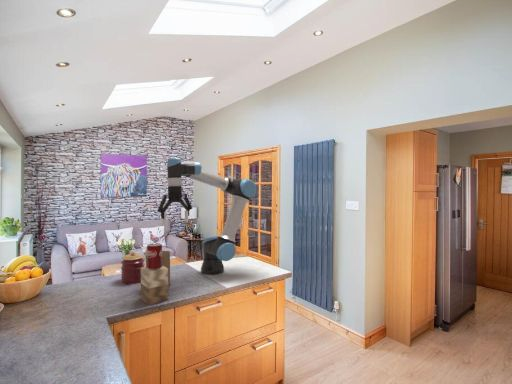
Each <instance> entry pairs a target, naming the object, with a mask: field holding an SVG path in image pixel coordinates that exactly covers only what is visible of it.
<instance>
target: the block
mask: <svg viewBox="0 0 512 384" xmlns="http://www.w3.org/2000/svg"><path fill="white" fill-rule="evenodd" d="M162 266H164V267H166V268H168V287H169V286H170V285H171V252H170V251H169V250H162ZM145 267H147V253H146V254H145Z"/></svg>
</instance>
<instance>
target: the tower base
mask: <svg viewBox="0 0 512 384" xmlns="http://www.w3.org/2000/svg"><path fill="white" fill-rule="evenodd" d="M140 295H141V296H140V297H141V298H140V299H141V300H142V301H144V302H145V303H146V304H147V305H149V306H150V305H153V304H157V303H161V302H165V301H168V300H169V286H168V284H166V285H162V286H158V287H153V288H149V289H148V288H147V287H145V286H144V285H143V284H141V283H140Z"/></svg>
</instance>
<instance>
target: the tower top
mask: <svg viewBox="0 0 512 384" xmlns="http://www.w3.org/2000/svg"><path fill="white" fill-rule="evenodd" d="M141 284H143V285H144V286H145V287H147V288H148V289H149V288H153V287H158V286H162V285H166V284H168V268H166V267H164V266H162V267H161V268H160V269H157V270H149V269H148V268H147V267H146V266H144V267H142V268H141V282H140V285H141Z"/></svg>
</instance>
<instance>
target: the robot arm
mask: <svg viewBox="0 0 512 384" xmlns="http://www.w3.org/2000/svg"><path fill="white" fill-rule="evenodd" d="M166 165H167V166H166V168H167V169H166V171H167V185H168V186H167V193H168V194H162V199H161V201H160V203H159V205H158V208H157V212H158V213H160V218H161V220H162V225H163V226H164V225H165V226H167V212H166V211H167V210H168V208H169V206H170V205H171V204H172V203H179V204H180V205H181V206H182V207H183V208H184V209H185V210H184V222H185V223H188V222H189V217H190V211H191V210H192V209H193V206H192V204H191V202H190V200H189V198H188V194H187V193H183V190H182V183H183V182H182V177H186V178H189V179H192V180H194V181H196V182H200V183H203V184H206V185H209V186H210V187H211V186H212V187H215V188H217V189H220V190H221V191H222V192H225V193H227V194H230V195H232V199H233V200H232V203H231V205H230V209H229V211H228V215H227V217H226V220H225V223H224V226H223V229H222V232H221V234H220V235H217V236H215V235H214V236H207V237H204V239H203V242H202V244H203V259H202V260H203V261H202V263H201V268H200V272H201V273H202V274H204V275H218V274H222V273H223V272H225V267H224V264H223V262H229V261H230V260H232V259H233V258H234V257H235V256H236V252H237V248H236V246H235V244H236V240H235V238H236V234H237V232H238V228H239V225H240V222H241V220H242V218H243V217H242V216H243V214H244V211H245V207H246V204H247V203H249V202H250V200H251V198H253V197H254V196H255V195H256V193H257V186H256V184H255V182H254V181H253V180H252V179H249V178H229V177H226V176H225V177H222V176H220V175H217V174H214V173H211V172H208V171H206V170H203V169H202V168H203V167H202V164H201V163H200V162H199V161H182V159H181V158H180V157H169V158H168V159H167V163H166ZM182 198H183V199H184V200H183V199H182ZM167 199H168V200H167Z"/></svg>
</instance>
